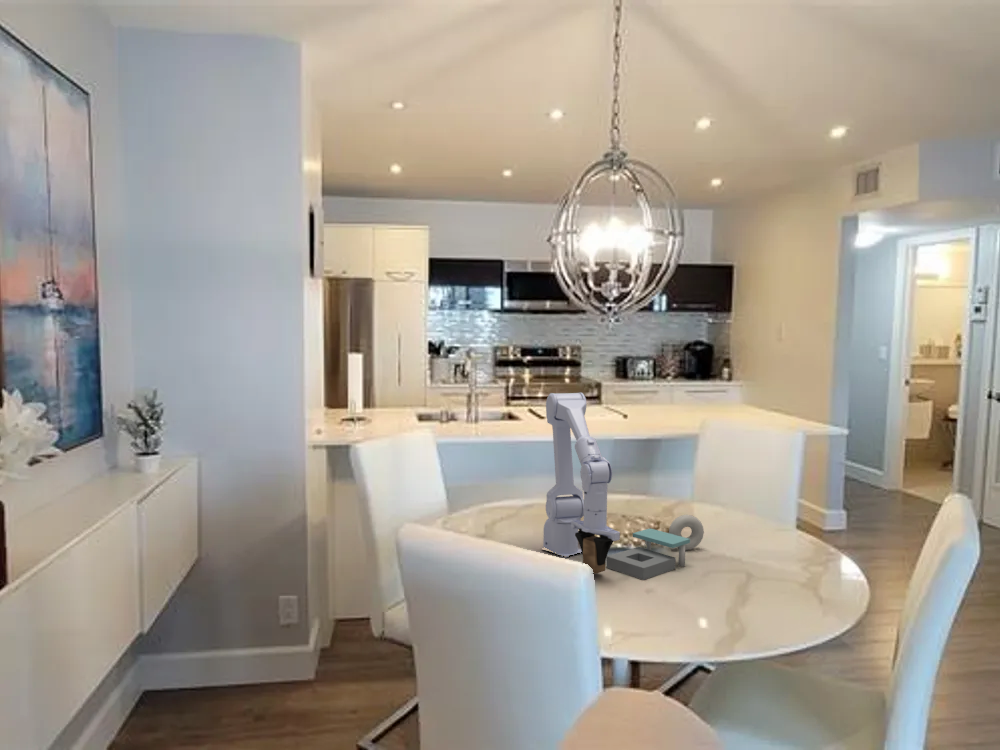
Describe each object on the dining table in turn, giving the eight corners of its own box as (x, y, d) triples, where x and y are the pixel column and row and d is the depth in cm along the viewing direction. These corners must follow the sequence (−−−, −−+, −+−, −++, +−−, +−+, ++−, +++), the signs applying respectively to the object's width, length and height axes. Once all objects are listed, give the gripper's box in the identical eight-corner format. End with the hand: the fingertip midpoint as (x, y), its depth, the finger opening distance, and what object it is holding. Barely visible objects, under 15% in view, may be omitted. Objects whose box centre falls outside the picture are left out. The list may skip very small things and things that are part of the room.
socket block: (606, 567, 193) (606, 556, 193) (638, 557, 201) (638, 546, 201) (643, 580, 184) (643, 568, 184) (675, 569, 192) (675, 557, 192)
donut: (670, 552, 207) (671, 516, 206) (666, 548, 210) (667, 513, 209) (705, 551, 208) (706, 515, 207) (700, 547, 211) (701, 512, 211)
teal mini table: (632, 558, 201) (632, 533, 200) (649, 553, 205) (650, 528, 205) (672, 571, 191) (672, 544, 190) (689, 565, 196) (690, 538, 195)
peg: (582, 569, 187) (583, 538, 186) (593, 566, 190) (594, 535, 189) (594, 574, 184) (595, 542, 183) (605, 570, 187) (606, 539, 186)
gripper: (563, 505, 189) (562, 558, 190) (606, 517, 178) (605, 573, 179) (582, 501, 193) (581, 552, 194) (625, 512, 182) (624, 567, 183)
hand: (594, 562), depth 187 cm, fingers closed on peg, 4 cm apart
